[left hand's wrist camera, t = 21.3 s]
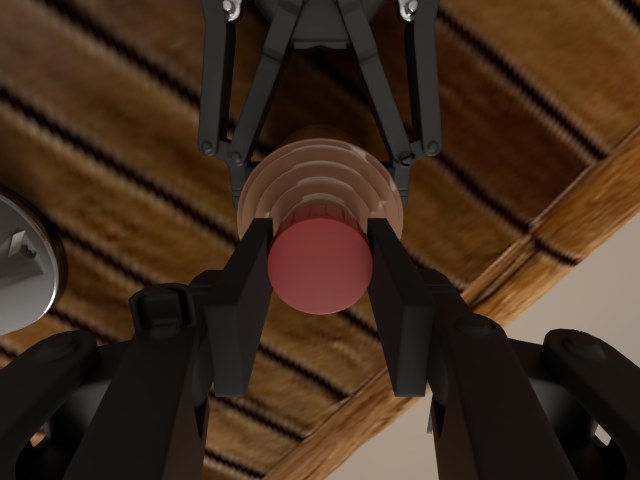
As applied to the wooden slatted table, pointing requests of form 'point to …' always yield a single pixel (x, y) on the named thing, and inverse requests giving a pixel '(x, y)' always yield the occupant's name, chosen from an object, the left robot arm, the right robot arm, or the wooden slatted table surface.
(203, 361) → the left robot arm
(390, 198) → the bottle
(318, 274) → the cap
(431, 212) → the wooden slatted table surface
